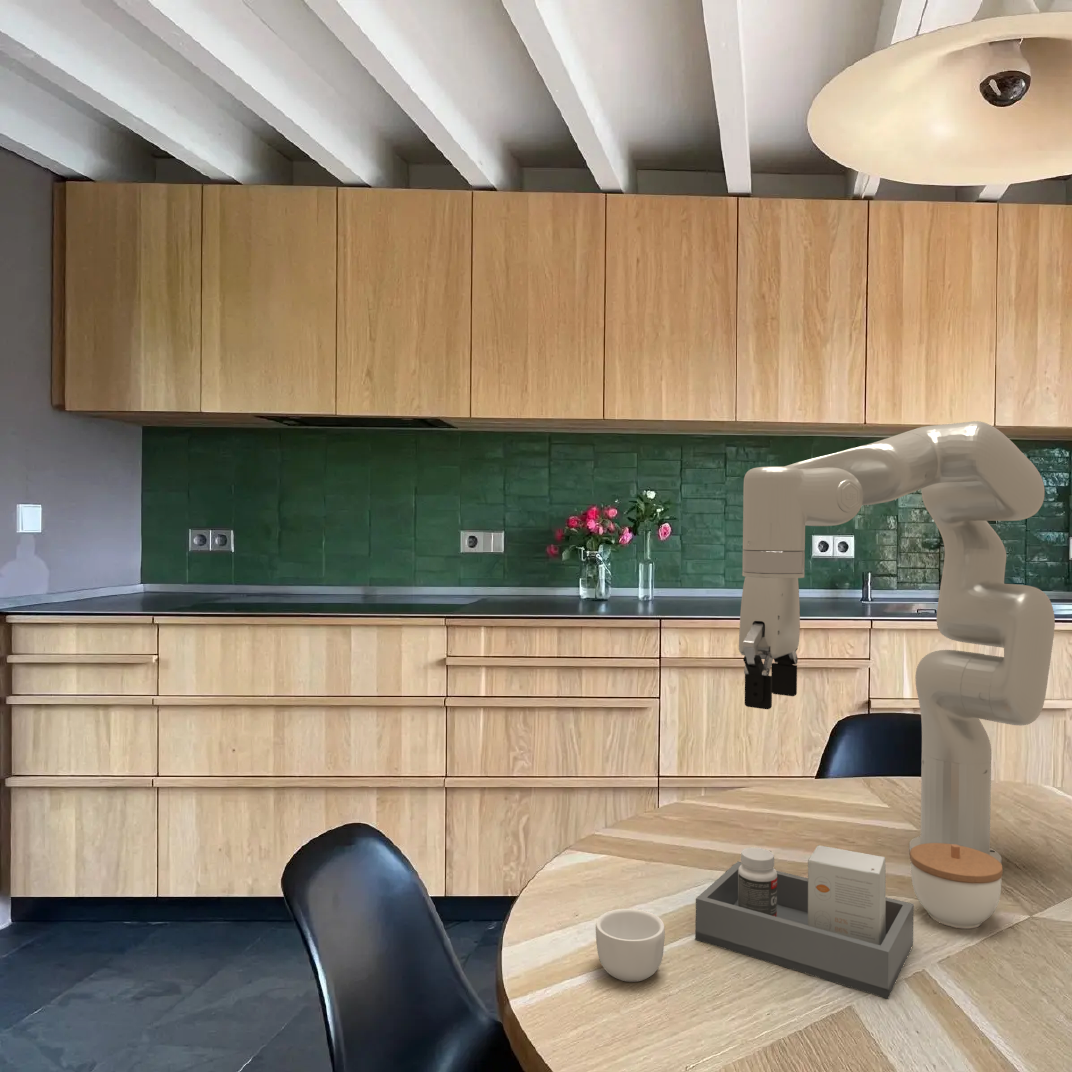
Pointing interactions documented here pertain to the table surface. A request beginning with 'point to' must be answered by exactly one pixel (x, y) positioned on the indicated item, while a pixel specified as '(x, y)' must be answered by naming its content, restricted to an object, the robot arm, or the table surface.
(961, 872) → the lidded jar
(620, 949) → the teacup
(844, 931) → the small box
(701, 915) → the tote
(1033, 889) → the table surface
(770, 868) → the pill bottle
